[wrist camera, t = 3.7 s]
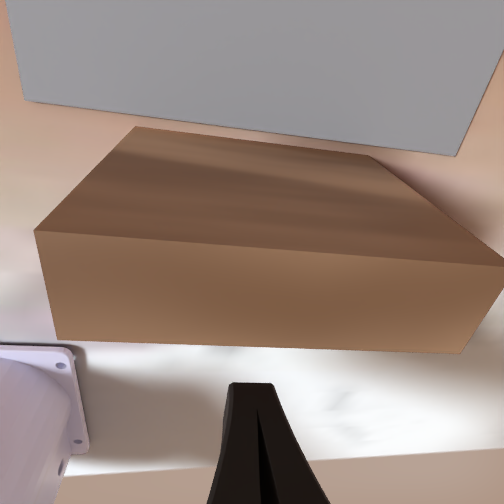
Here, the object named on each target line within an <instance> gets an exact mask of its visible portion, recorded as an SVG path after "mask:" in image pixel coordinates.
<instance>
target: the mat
mask: <svg viewBox="0 0 504 504" xmlns="http://www.w3.org/2000/svg"><path fill="white" fill-rule="evenodd" d="M5 1H6V7H7V12H8V17H9V22H10V28H11V33H12V38H13V43H14V48H15V54H16V59H17V64H18V69H19V75H20V80H21V85H22V90H23V95H24V100H25V101H33V102H41V103H49V104H56V105H64V106H72V107H79V108H87V109H95V110H103V111H110V112H118V113H126V114H133V115H141V116H149V117H157V118H164V119H172V120H180V121H187V122H195V123H203V124H211V125H218V126H226V127H234V128H242V129H249V130H257V131H265V132H272V133H280V134H288V135H296V136H303V137H311V138H319V139H326V140H334V141H342V142H350V143H357V144H365V145H373V146H380V147H388V148H396V149H404V150H411V151H419V152H427V153H434V154H442V155H450V156H456V153H457V151H458V149H459V147H460V145H461V142H462V140H463V138H464V136H465V134H466V131H467V129H468V127H469V125H470V123H471V120H472V118H473V116H474V114H475V112H476V109H477V107H478V105H479V103H480V100H481V98H482V96H483V94H484V92H485V89H486V87H487V85H488V83H489V81H490V78H491V76H492V74H493V72H494V70H495V67H496V65H497V63H498V61H499V59H500V56H501V54H502V52H503V50H504V0H5Z"/></svg>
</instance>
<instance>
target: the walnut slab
mask: <svg viewBox="0 0 504 504" xmlns="http://www.w3.org/2000/svg"><path fill="white" fill-rule="evenodd" d="M34 235H35V239H36V244H37V249H38V253H39V258H40V262H41V267H42V272H43V276H44V281H45V285H46V290H47V294H48V299H49V304H50V308H51V313H52V317H53V322H54V326H55V331H56V336H57V340H72V341H101V342H130V343H159V344H188V345H217V346H246V347H275V348H304V349H333V350H362V351H391V352H420V353H449V354H460V353H461V352H462V350H463V349H464V347H465V346H466V344H467V343H468V341H469V340H470V338H471V336H472V335H473V333H474V332H475V330H476V329H477V327H478V326H479V324H480V323H481V321H482V320H483V318H484V317H485V315H486V314H487V312H488V311H489V309H490V308H491V306H492V305H493V303H494V302H495V300H496V299H497V297H498V296H499V294H500V293H501V291H502V290H503V288H504V258H503V257H502V256H500V255H499V254H498V253H496V252H495V251H494V250H492V249H491V248H490V247H488V246H487V245H486V244H484V243H483V242H482V241H480V240H479V239H478V238H476V237H475V236H474V235H473V234H471V233H470V232H469V231H467V230H466V229H465V228H463V227H462V226H461V225H459V224H458V223H457V222H455V221H454V220H453V219H451V218H450V217H449V216H447V215H446V214H445V213H443V212H442V211H441V210H439V209H438V208H437V207H436V206H434V205H433V204H432V203H430V202H429V201H428V200H426V199H425V198H424V197H422V196H421V195H420V194H418V193H417V192H416V191H414V190H413V189H412V188H410V187H409V186H408V185H406V184H405V183H404V182H403V181H401V180H400V179H399V178H397V177H396V176H395V175H393V174H392V173H391V172H389V171H388V170H387V169H385V168H384V167H383V166H381V165H380V164H379V163H377V162H376V161H375V160H373V159H372V158H371V157H370V156H368V155H361V154H353V153H345V152H337V151H329V150H321V149H313V148H305V147H297V146H289V145H281V144H273V143H265V142H257V141H249V140H241V139H233V138H225V137H217V136H209V135H201V134H193V133H185V132H177V131H169V130H161V129H153V128H145V127H137V126H135V127H134V128H133V129H132V130H131V131H130V132H129V133H128V134H127V135H126V136H125V137H124V138H123V139H122V140H121V141H120V142H119V143H118V144H117V145H116V147H115V148H114V149H113V150H112V151H111V152H110V153H109V154H108V155H107V156H106V157H105V158H104V159H103V160H102V161H101V162H100V163H99V164H98V165H97V166H96V167H95V168H94V169H93V170H92V171H91V172H90V173H89V174H88V175H87V176H86V177H85V178H84V179H83V180H82V181H81V182H80V183H79V184H78V185H77V186H76V187H75V188H74V189H73V190H72V191H71V192H70V194H69V195H68V196H67V197H66V198H65V199H64V200H63V201H62V202H61V203H60V204H59V205H58V206H57V207H56V208H55V209H54V210H53V211H52V212H51V213H50V214H49V215H48V216H47V217H46V218H45V219H44V220H43V221H42V222H41V223H40V224H39V225H38V226H37V227H36V228H35V229H34Z"/></svg>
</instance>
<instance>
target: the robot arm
mask: <svg viewBox="0 0 504 504" xmlns="http://www.w3.org/2000/svg"><path fill="white" fill-rule="evenodd" d="M89 447H90V443H89V437H88V432H87V427H86V422H85V417H84V411H83V406H82V401H81V396H80V391H79V385H78V380H77V375H76V370H75V365H74V359H73V354H72V352H71V351H70V350H69V349H67V348H65V347H46V346H15V345H0V504H54V501H55V498H56V495H57V492H58V489H59V487H60V484H61V481H62V478H63V476H64V473H65V470H66V467H67V464H68V462H69V459H70V456H71V454H85V453H87V452H88V450H89ZM207 504H330V502H329V500H328V498H327V497H326V495H325V493H324V491H323V490H322V488H321V486H320V484H319V483H318V481H317V479H316V477H315V475H314V473H313V472H312V470H311V468H310V466H309V464H308V462H307V460H306V458H305V456H304V454H303V452H302V450H301V448H300V446H299V444H298V442H297V440H296V438H295V436H294V434H293V431H292V429H291V427H290V425H289V422H288V420H287V418H286V416H285V413H284V411H283V408H282V406H281V404H280V401H279V398H278V396H277V393H276V390H275V387H274V385H273V384H272V383H237V382H233V383H231V384H229V387H228V393H227V399H226V405H225V411H224V417H223V433H222V444H221V452H220V457H219V461H218V465H217V468H216V472H215V476H214V479H213V483H212V487H211V490H210V494H209V497H208V500H207Z"/></svg>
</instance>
